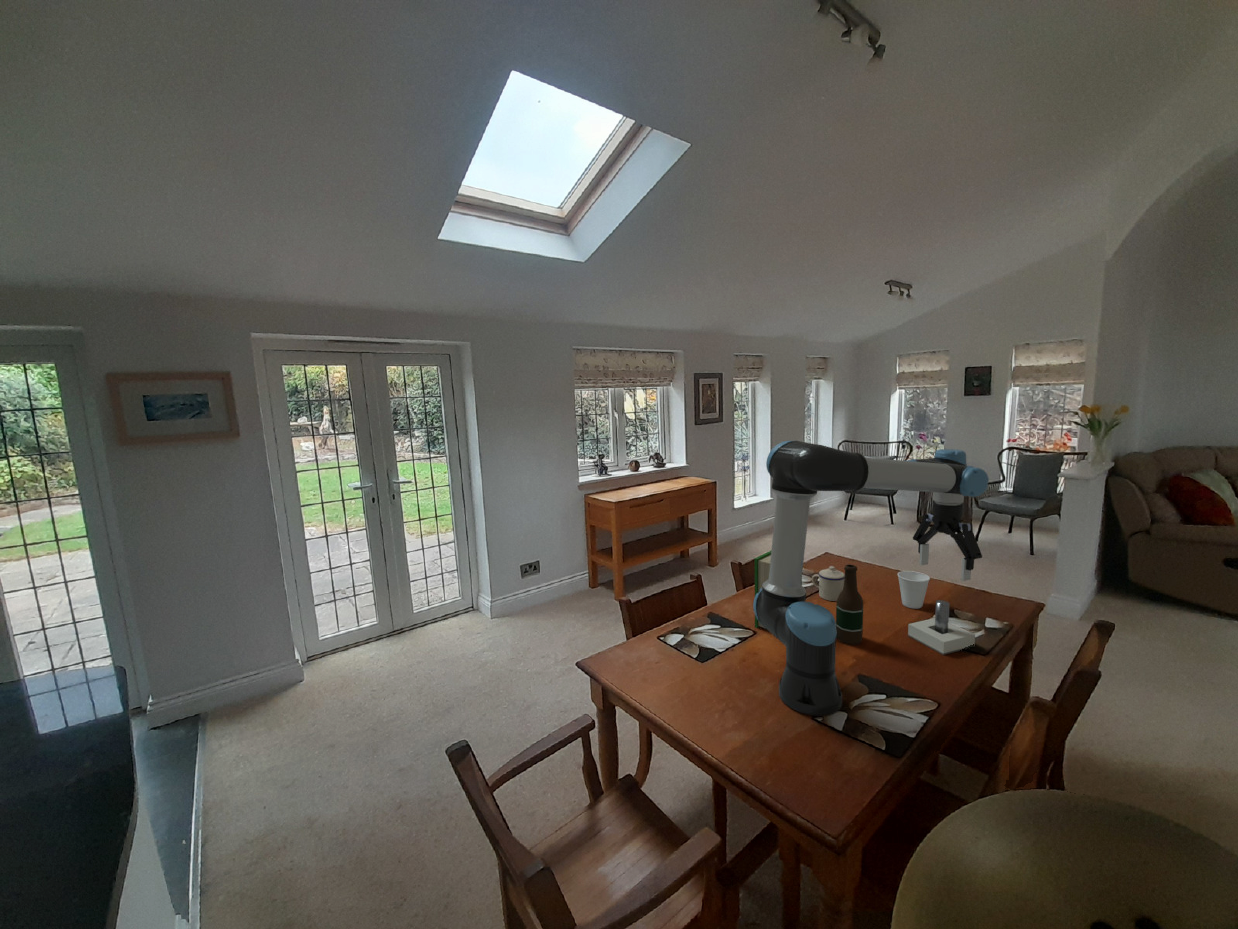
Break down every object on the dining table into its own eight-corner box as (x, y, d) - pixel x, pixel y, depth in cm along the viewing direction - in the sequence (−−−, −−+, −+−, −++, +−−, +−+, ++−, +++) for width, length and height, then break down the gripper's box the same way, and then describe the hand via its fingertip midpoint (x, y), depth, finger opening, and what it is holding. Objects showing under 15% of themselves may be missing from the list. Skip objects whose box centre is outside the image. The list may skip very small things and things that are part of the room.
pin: (941, 643, 148) (943, 605, 146) (931, 638, 151) (933, 601, 149) (950, 641, 148) (952, 603, 147) (939, 636, 152) (942, 599, 150)
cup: (928, 602, 176) (930, 573, 174) (928, 613, 167) (930, 583, 166) (897, 597, 181) (898, 569, 179) (895, 608, 173) (896, 578, 171)
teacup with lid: (848, 596, 184) (849, 566, 182) (838, 604, 178) (839, 573, 176) (817, 587, 193) (817, 559, 191) (806, 595, 187) (806, 565, 185)
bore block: (943, 655, 142) (943, 642, 142) (908, 636, 154) (908, 624, 153) (974, 647, 146) (975, 634, 145) (937, 629, 157) (938, 617, 156)
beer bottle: (866, 646, 149) (868, 570, 145) (838, 644, 150) (840, 570, 147) (858, 633, 156) (860, 561, 153) (832, 632, 158) (834, 561, 154)
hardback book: (775, 634, 158) (775, 563, 155) (754, 627, 164) (754, 558, 160) (801, 616, 170) (802, 549, 166) (781, 610, 175) (782, 545, 172)
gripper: (1001, 510, 132) (995, 585, 136) (920, 493, 156) (917, 557, 159) (980, 513, 130) (975, 589, 133) (901, 495, 154) (899, 560, 157)
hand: (943, 572), depth 146 cm, fingers open, 13 cm apart
